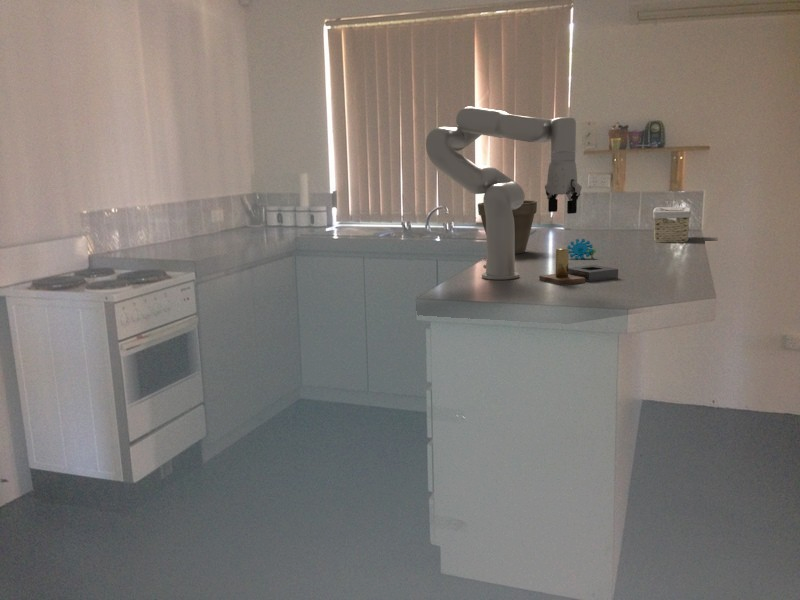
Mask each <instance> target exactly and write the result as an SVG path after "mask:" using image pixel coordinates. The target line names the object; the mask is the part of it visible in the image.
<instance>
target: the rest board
mask: <svg viewBox="0 0 800 600" xmlns="http://www.w3.org/2000/svg"><path fill="white" fill-rule="evenodd" d="M555 274H556V273H552V274H544V275H542V274H541V275H539V278H538V279H539V281H541V282H545V281H546V283H550V284H555V285H559V286H567V285H575V284H576V285H577V284H584V283H586V281H585V278H583V277H578V276H573V275H568V277H566V278H558V277H555Z"/></svg>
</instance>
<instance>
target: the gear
mask: <svg viewBox="0 0 800 600" xmlns="http://www.w3.org/2000/svg"><path fill="white" fill-rule="evenodd" d="M571 246H572V247H571ZM566 249H569V257H570V258H571V259H572V258H574V260H575V261H576V260H579V258H580V260H584V259H585V256H586V258H588V257H590V259H593V258H594V254H595V253H596V251H597V250H596V248H593V244H591V242H590V240H587V241H586V239H585V238H582V239H581V241H580V239H579V238H576V239H575V242H574V241H573V240H572V241H571V242H570V245H569V244H568V246H567V248H566Z"/></svg>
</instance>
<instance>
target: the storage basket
mask: <svg viewBox="0 0 800 600" xmlns="http://www.w3.org/2000/svg"><path fill="white" fill-rule="evenodd" d="M691 211H692V209H691V207H689V206H668V207H667V206H662V207H661V206H659V207H655V208H654V209H653V211H652V218H653V239H654V241H655V243H677V244H678V243H679V244H680V243H681V244H682V243H687V242H688V240H689V229H690V228H689V227H690V226H689V225H690V219H691Z"/></svg>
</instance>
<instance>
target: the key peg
mask: <svg viewBox="0 0 800 600" xmlns="http://www.w3.org/2000/svg"><path fill="white" fill-rule="evenodd" d="M569 250H570V249H568V248H562V247H561V248H560V247H559V248H556V249H555V273H554V274H555V277H558V278H566V277H568V268H569V257H570V254H569Z"/></svg>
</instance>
